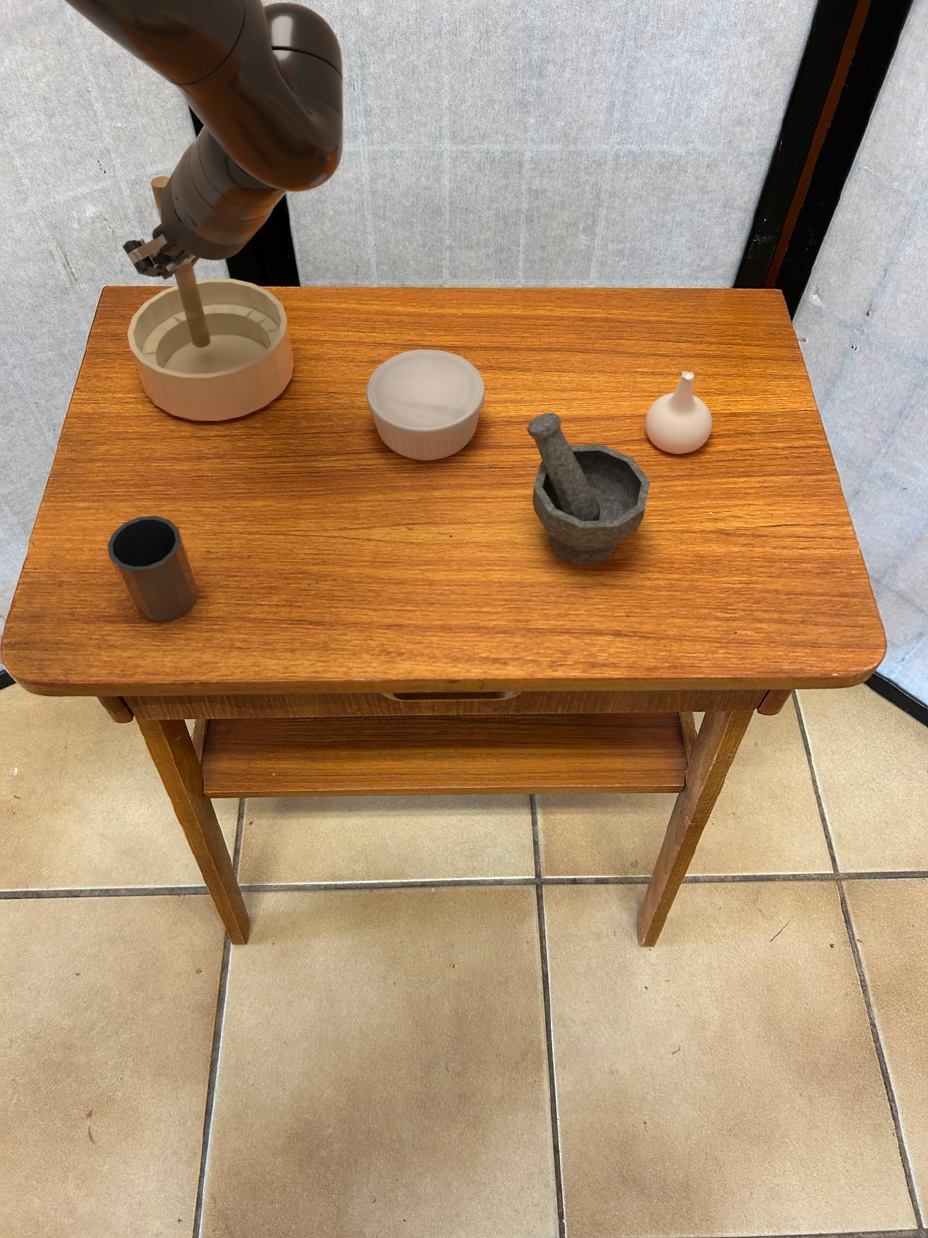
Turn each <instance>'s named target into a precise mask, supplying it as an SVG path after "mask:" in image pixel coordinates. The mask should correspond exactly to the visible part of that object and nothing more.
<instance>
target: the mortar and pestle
mask: <svg viewBox="0 0 928 1238" xmlns="http://www.w3.org/2000/svg"><path fill="white" fill-rule="evenodd" d="M561 424H562V420H561V418H560V416H558V415H557V414H556V413H555V412H544V413H542V414H539V415H537V416H536V417H534V418H533V419H532V420H531V421H529V423H528V426H527V427H526V430H527V434H528V435H529V436H530V437H531V438H532V439H533V440H534V442H535V444H536V448H537V450H538V452H539V456H540V458H541V460H542V461H540V463H539V467H538V471H537V473H536V478H535V481H534V485H533V489H532V490H533V491H532V506H533V511H534V513H535V514H536V516H537V518H538V519H539V521H540V523H541V524H542V526H543V528H544V529H545V531H546V532H547V534H548V540H547V541H548V542H549V544H550V545H551V547H552V549H553V551H554V552H555V554H556V555H557V557H560V558H562V559H564V560H567V561H568V562H571V563H572V564H575V565H595V564H600V563H601V562H603V561H604V560H605V559H607V558H609V557H610V556H612V555H613V554H615V551H616V546H617V545H618V544H620V543H622V541H624V540H625V539H627V538H628V537H630V536H631V535H632V534H634V533H635V532H637V531H638V529H639V527H640V525H641V523H642V521H643V520H644V517H645V516H644V515H645V511H646V507H647V503H648V502H647V501H648V497H649V496H648V495H649V490H650V485H651V481H650V480H649V479H648V477H647V476H646V474H645V473H644V472H643V470H642V468H641V467H640V466H639V464H638V463H637V462H636V459H634V457H631V456H629V455H626V454H624V453H622V452H619V451H617V450H616V449H613V448H610V447H608V446H606V445H603V444H586V445H584V444H581V445H570V444H569V443H568V440H567V439H566V436H565V434H564V432H563V431H562V428H561Z"/></svg>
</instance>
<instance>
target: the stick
mask: <svg viewBox="0 0 928 1238" xmlns="http://www.w3.org/2000/svg"><path fill="white" fill-rule="evenodd" d="M169 179H170V177H169V176H165V175H161V176H156V177H154V178H152V179H151V181H150V187H151V190H152V194H153V198H154V202H155V205H156V209H157V213H158V217H159V221H160V224H161V223H162V219H161V197H162V193H163V190H164V188H165V186H166V184H167V182H168V180H169ZM173 275H174V277H175V281H176V286H177V285H178V289H179V293H180V297H181V301H182V304H183V308H184V312H185V316H186V319H187V323H188V327H189V331H190V335H191V338H192V342H193V345H194V346H196V347H199V348H202V347H206V346H208V345H209V344H210V342H211V339H210V335H209V331H208V327H207V323H206V319H205V315H204V311H203V307H202V303H201V299H200V294H199V290H198V286H197V282H196V281H197V279H196V275H195V271H194V266H192V262H190V263H188V264H186V265H184V266H181V267H179V268H178V269H177V270H176V271H175V273H174V274H173Z"/></svg>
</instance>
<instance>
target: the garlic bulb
mask: <svg viewBox="0 0 928 1238" xmlns="http://www.w3.org/2000/svg"><path fill="white" fill-rule="evenodd" d="M694 379H695V373H693V371H691V372H688V371H682V373H681V377H680V379H679V380H678V384H677V385H676V388H675V390H674V392H670V393H667V394H664V395H662V396H660V397H659V398H657V399H656V400H655V401H654V402H653V403H652V404H651V406H650V407H649V409H648V410H647V413H646V416H645V422H644V427H645V433H646V435H647V437H648V439H649V441H650V443H652V444H653V445H654V446H655V447H656V448H657V449H659V450H661V451H663V452H666V453H669V454H675V455H684V454H689V453H692V452H694V451H696V450H698V449H700V448H701V447H702V446H703V445H704V444H705V443H706V442H707V440H708V439H709V437H710V435H711V432H712V428H713V419H712V418H713V417H712V414H711V410H710V409H709V407H708V406H707V404H706V403H705V401H702V399H700V398H699V397H698V396H696V395H694Z"/></svg>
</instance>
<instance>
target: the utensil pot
mask: <svg viewBox="0 0 928 1238" xmlns="http://www.w3.org/2000/svg"><path fill="white" fill-rule="evenodd" d="M107 553H108V558H109V559H110V563H111V564H112V566H113V568H114V571H115V573H116V575H117V578H118V579H119V582H120V584H121V586H122V588H123V590H124V592H125V595H126V597H127V599H128V600H129V601H128V602H129V603H130V605H131V607H132V608H133V610H134V612H135V613H136V614H137V615H138V616H140V618H142V619H144V620H146V621H149V622H154V623H165V622H166V623H167V622H171V621H175V620H177V619H179V618H182V617H183V616H184V615H187V613H189V612H190V610H192V609H193V608H194V606H195V605H196V603H197V601H198V598H199V595H200V589H199V588H200V587H199V584H198V581H197V577H196V574H195V571H194V568H193V566H192V563H191V560H190V557H189V554H188V551H187V549H186V546H185V543H184V540H183V537H182V534H181V532H180V529H179V527H178V526H176V525H175V524H174V523H173V522H172V521H171V520H170V519H167V518H164V517H161V516H158V515H148V516H147V515H146V516H138V517H135V518H133V519H130V520H128V521H125V522H124V523H122V524H121V525H120V526H119V527H118V528H116V529H115V530H114V531H113V532H112V534H111V536H110V538H109V540H108V542H107Z"/></svg>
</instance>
